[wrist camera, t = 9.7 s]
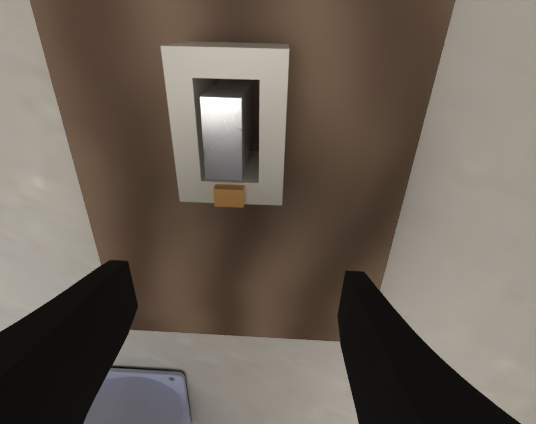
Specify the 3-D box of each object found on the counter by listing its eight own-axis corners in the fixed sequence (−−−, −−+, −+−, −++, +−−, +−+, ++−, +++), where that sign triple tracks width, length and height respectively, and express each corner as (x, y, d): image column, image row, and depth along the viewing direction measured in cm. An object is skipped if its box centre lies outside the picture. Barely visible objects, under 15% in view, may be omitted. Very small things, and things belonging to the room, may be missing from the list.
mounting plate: (125, 316, 25) (118, 328, 24) (35, -45, 14) (16, -50, 13) (362, 329, 25) (366, 342, 24) (451, -31, 14) (464, -36, 13)
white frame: (189, 41, 15) (155, 46, 11) (288, 43, 15) (289, 50, 11) (200, 167, 18) (176, 207, 14) (282, 170, 18) (282, 211, 14)
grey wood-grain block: (225, 139, 17) (205, 179, 13) (223, 77, 15) (199, 96, 11) (252, 140, 17) (242, 180, 13) (253, 78, 15) (241, 98, 11)
